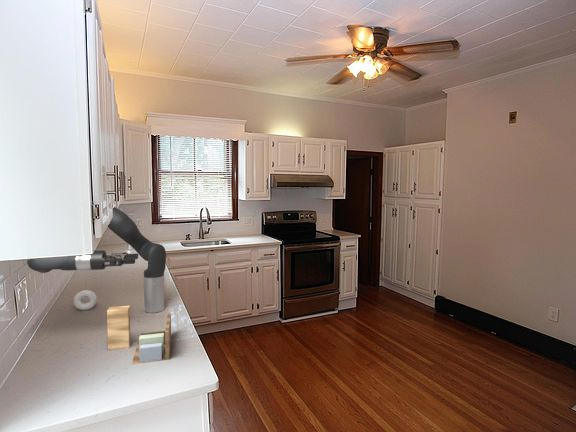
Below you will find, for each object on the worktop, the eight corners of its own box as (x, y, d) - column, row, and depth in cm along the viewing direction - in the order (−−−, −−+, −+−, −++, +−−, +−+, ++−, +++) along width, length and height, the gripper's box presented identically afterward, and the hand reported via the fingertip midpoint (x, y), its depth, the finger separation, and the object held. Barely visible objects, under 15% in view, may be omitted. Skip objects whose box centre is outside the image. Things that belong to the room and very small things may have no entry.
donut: (73, 312, 161) (72, 292, 160) (74, 310, 164) (73, 290, 163) (97, 309, 165) (96, 289, 164) (97, 307, 168) (97, 287, 167)
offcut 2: (140, 358, 117) (140, 345, 116) (162, 356, 119) (161, 342, 119) (139, 362, 115) (139, 348, 114) (161, 359, 117) (161, 345, 116)
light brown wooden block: (110, 346, 126) (109, 307, 125) (130, 343, 128) (129, 305, 127) (108, 351, 122) (106, 311, 121) (129, 348, 124) (128, 309, 123)
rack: (138, 342, 132) (138, 314, 131) (171, 338, 135) (170, 311, 134) (131, 367, 113) (130, 335, 112) (169, 362, 117) (168, 331, 116)
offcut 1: (140, 354, 120) (140, 335, 120) (164, 351, 123) (163, 332, 122) (139, 358, 117) (138, 339, 117) (163, 355, 120) (163, 336, 119)
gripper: (86, 254, 124) (134, 252, 128) (95, 247, 137) (138, 246, 142) (86, 274, 124) (134, 271, 129) (96, 265, 138) (139, 263, 143)
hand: (136, 258), depth 136 cm, fingers open, 8 cm apart
